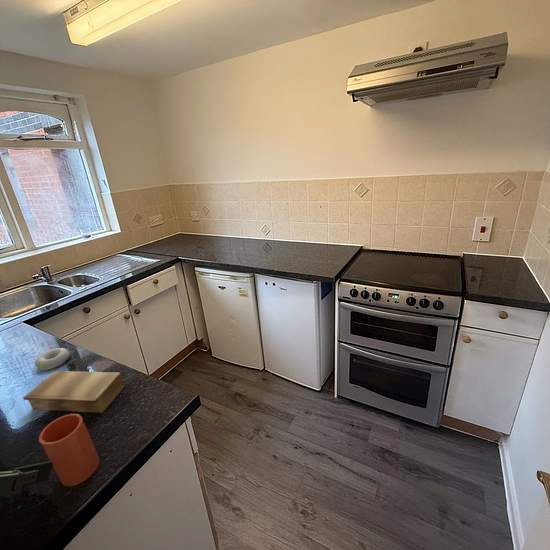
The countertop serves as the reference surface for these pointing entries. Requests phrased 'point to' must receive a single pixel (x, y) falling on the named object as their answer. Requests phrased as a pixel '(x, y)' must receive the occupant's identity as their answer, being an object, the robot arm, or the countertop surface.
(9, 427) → the countertop surface
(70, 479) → the cup
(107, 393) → the wooden block
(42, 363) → the donut
